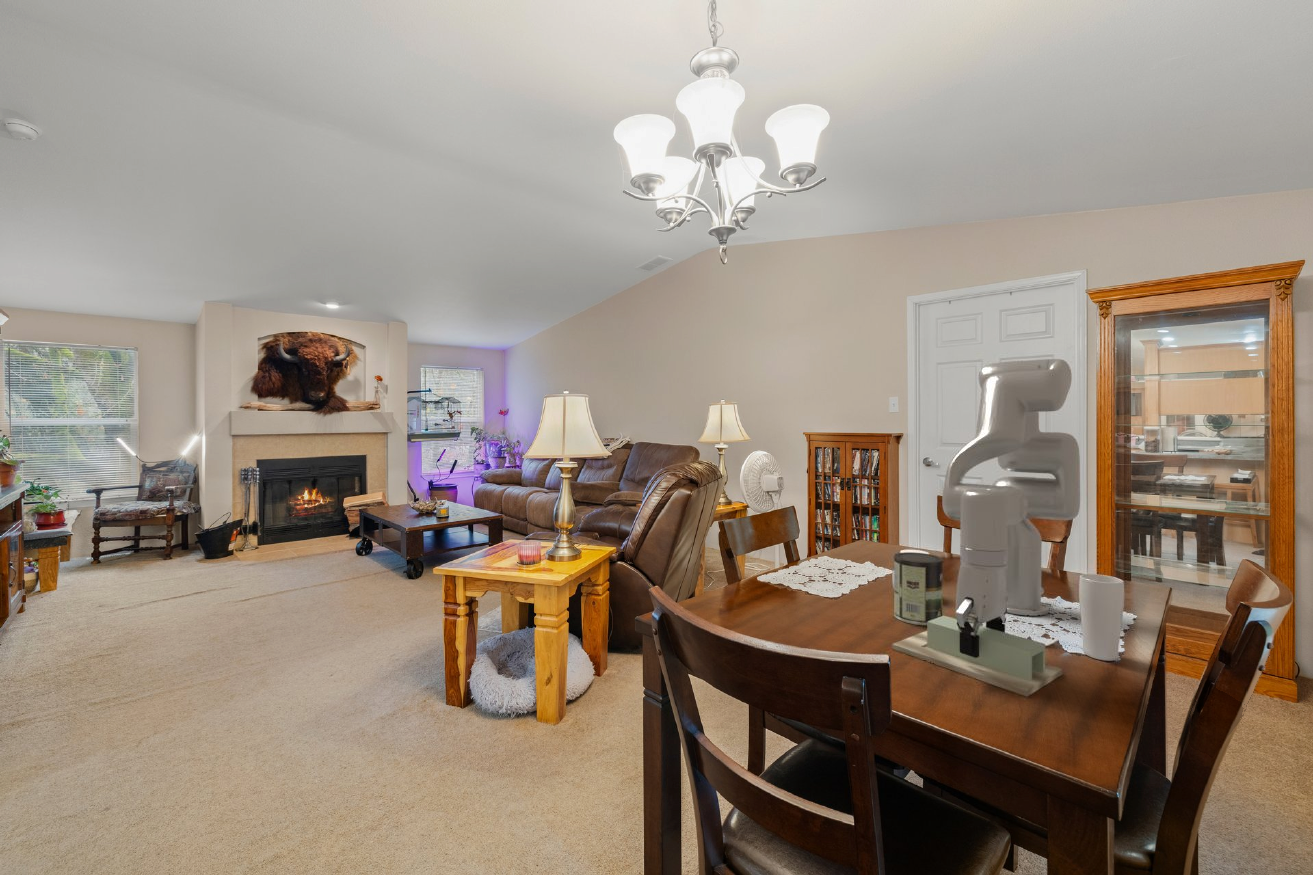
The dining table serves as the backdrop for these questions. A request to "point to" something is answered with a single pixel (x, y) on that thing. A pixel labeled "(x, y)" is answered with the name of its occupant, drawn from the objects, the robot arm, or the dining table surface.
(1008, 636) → the long sage green beam
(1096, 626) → the drinking glass
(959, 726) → the dining table surface
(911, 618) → the coffee can
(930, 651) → the board
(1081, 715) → the dining table surface
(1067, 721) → the dining table surface
